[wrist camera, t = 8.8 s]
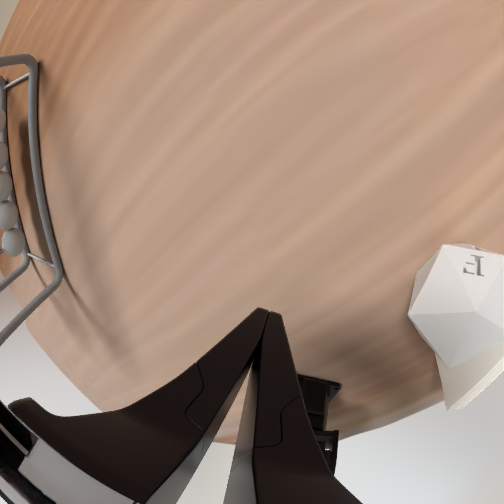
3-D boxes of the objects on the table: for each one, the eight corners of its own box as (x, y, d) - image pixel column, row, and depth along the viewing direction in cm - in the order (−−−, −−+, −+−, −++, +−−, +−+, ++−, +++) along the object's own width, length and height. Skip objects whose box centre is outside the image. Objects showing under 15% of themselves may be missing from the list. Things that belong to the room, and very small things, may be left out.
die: (499, 253, 16) (541, 244, 8) (479, 349, 16) (505, 391, 8) (421, 239, 21) (423, 220, 13) (402, 334, 21) (391, 370, 13)
